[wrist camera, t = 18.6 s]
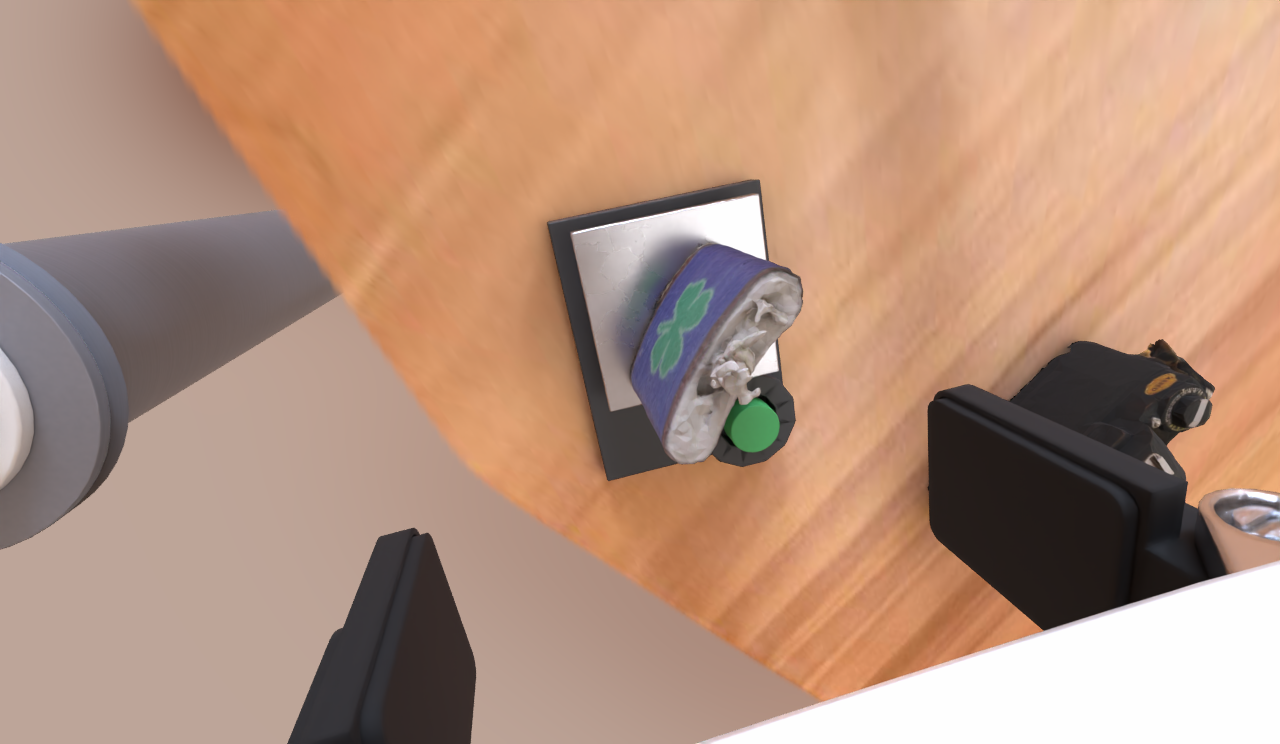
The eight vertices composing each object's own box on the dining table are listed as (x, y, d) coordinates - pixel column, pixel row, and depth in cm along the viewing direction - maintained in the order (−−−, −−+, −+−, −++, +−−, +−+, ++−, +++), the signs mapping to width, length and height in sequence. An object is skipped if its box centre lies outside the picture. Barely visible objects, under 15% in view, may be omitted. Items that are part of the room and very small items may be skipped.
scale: (606, 477, 39) (612, 500, 36) (546, 221, 33) (548, 225, 30) (781, 433, 40) (800, 452, 37) (751, 179, 34) (770, 179, 32)
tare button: (726, 447, 36) (734, 458, 35) (719, 402, 35) (727, 412, 34) (772, 435, 37) (782, 446, 35) (767, 391, 36) (777, 400, 34)
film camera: (1028, 560, 47) (1150, 654, 38) (907, 516, 44) (1008, 607, 34) (1162, 360, 43) (1335, 410, 34) (1042, 294, 40) (1197, 330, 31)
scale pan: (608, 407, 34) (610, 412, 33) (569, 231, 31) (570, 232, 30) (774, 367, 35) (779, 371, 34) (754, 192, 32) (759, 193, 31)
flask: (659, 402, 34) (713, 497, 23) (613, 380, 33) (649, 470, 23) (743, 255, 32) (840, 290, 22) (697, 229, 31) (776, 252, 21)
